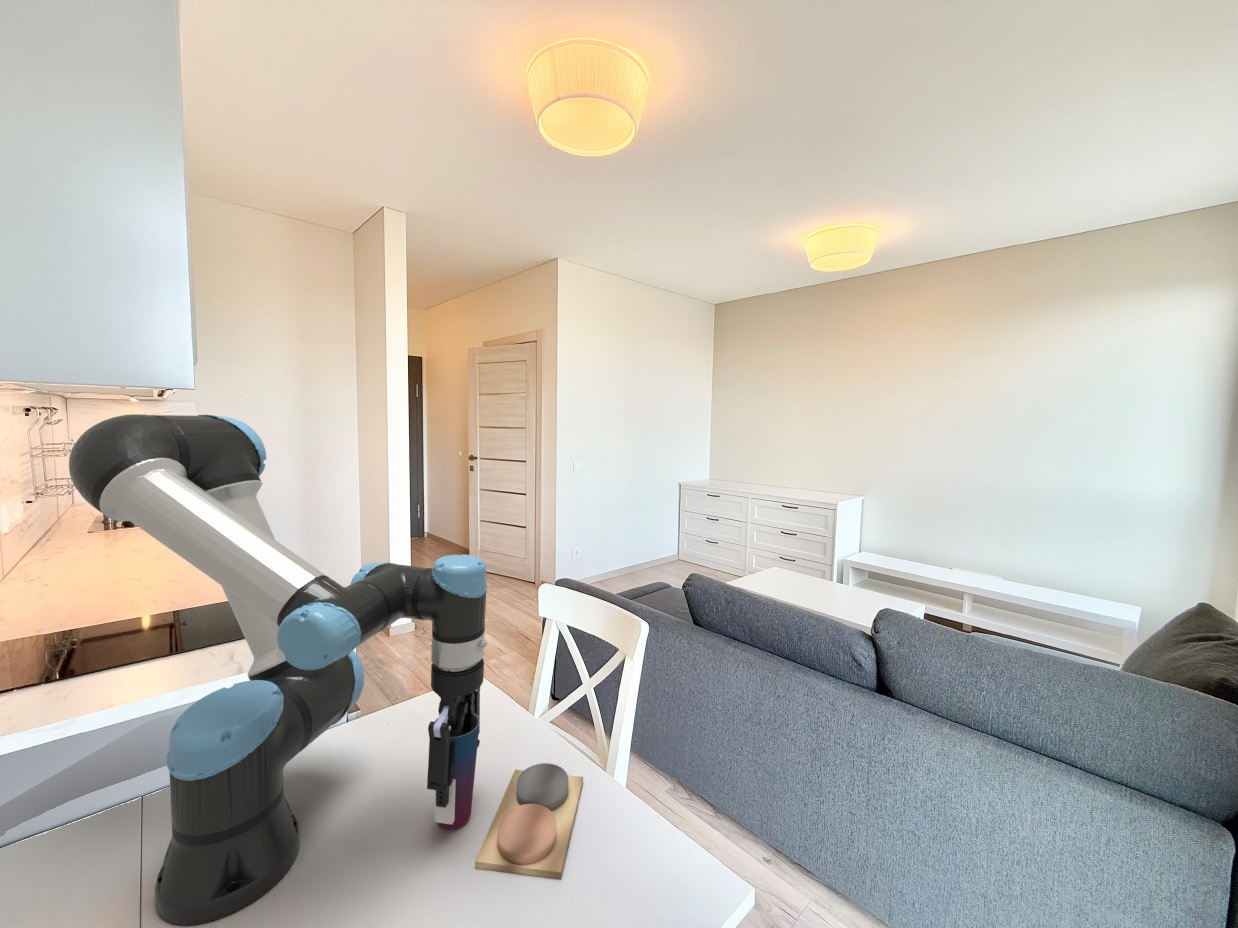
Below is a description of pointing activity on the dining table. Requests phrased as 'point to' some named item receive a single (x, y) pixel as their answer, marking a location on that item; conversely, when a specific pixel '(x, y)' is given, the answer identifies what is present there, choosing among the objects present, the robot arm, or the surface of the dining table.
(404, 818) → the dining table surface
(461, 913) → the dining table surface
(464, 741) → the cup
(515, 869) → the stand board
